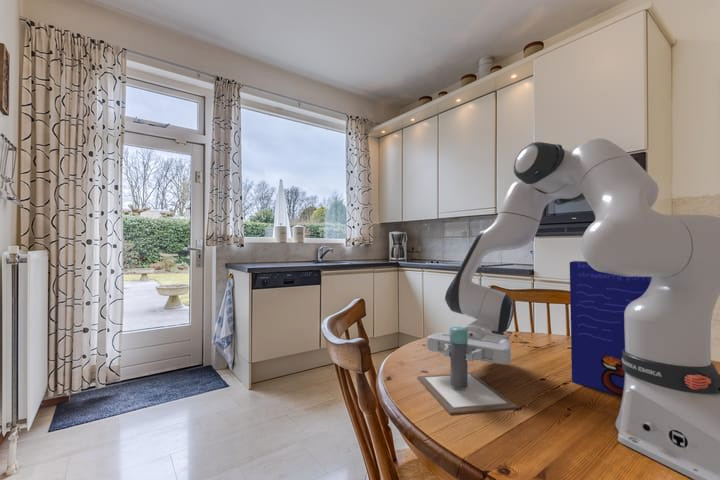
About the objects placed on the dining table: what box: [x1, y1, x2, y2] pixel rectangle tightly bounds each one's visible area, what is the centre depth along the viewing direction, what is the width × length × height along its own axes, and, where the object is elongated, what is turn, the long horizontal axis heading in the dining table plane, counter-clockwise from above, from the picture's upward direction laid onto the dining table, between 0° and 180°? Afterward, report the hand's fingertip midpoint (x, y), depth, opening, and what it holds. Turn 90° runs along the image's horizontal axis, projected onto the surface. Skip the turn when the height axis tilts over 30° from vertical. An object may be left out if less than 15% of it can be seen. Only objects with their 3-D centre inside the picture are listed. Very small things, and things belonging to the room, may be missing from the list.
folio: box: [416, 372, 519, 415], centre depth 77 cm, size 19×15×1 cm
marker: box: [449, 326, 469, 388], centre depth 77 cm, size 4×4×13 cm
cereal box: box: [569, 260, 652, 398], centre depth 76 cm, size 22×6×30 cm, turn 36°
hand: (457, 355), depth 77 cm, fingers closed on marker, 4 cm apart
